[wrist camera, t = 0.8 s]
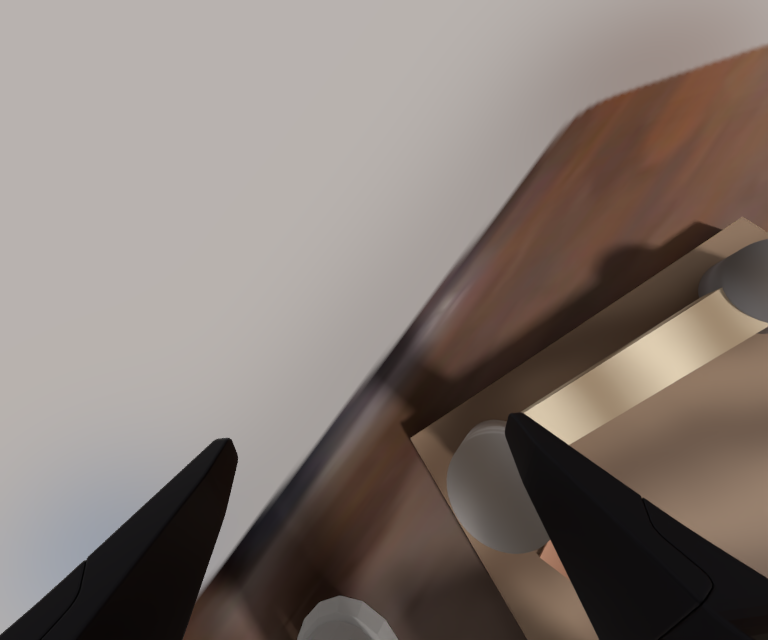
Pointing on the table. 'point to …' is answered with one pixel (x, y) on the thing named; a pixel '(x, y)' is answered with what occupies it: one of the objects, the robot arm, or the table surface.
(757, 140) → the table surface
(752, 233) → the board
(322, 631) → the french press
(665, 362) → the grey-ended beige bar
